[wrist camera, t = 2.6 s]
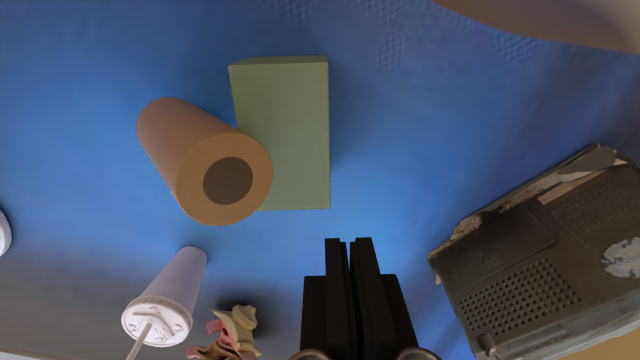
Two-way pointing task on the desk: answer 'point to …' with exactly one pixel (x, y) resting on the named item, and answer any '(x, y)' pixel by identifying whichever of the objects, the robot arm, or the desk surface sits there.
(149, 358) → the desk surface
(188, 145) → the paper roll
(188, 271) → the smoothie
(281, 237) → the desk surface
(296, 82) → the green block
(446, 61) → the desk surface
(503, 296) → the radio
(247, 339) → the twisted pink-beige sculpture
